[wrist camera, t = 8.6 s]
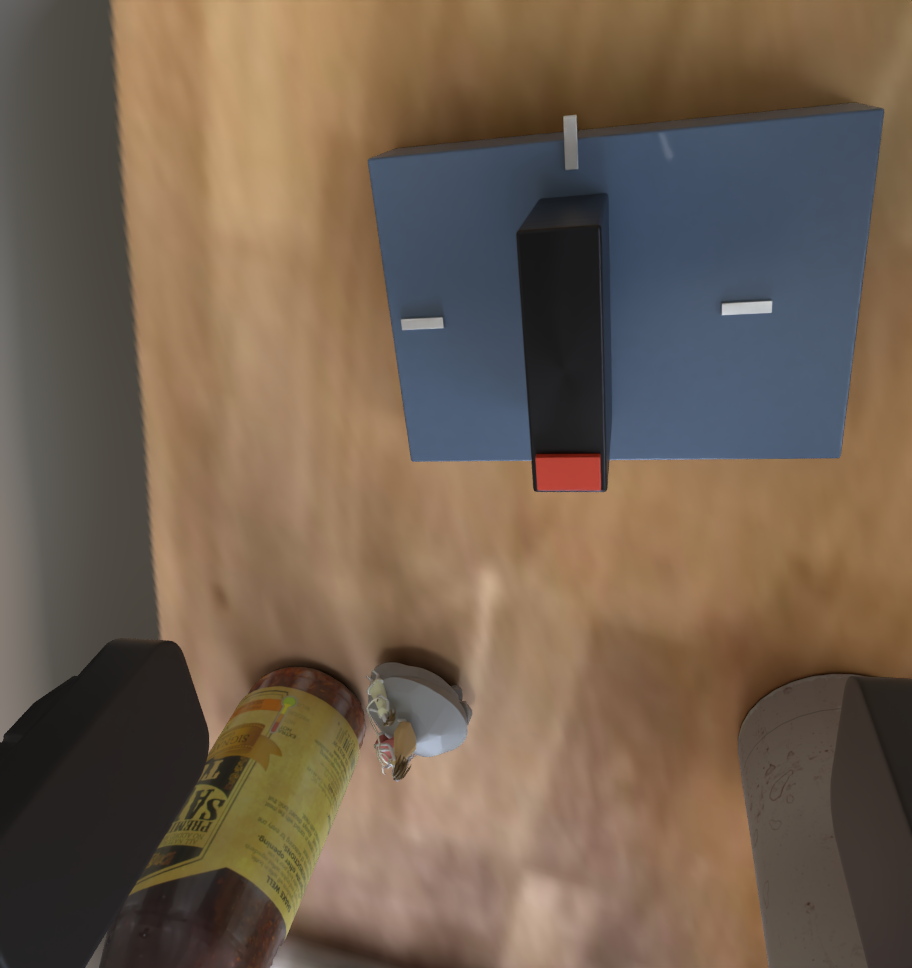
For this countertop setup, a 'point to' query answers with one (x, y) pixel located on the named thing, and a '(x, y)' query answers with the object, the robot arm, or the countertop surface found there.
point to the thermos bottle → (798, 825)
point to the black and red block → (567, 341)
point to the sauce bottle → (245, 831)
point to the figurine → (414, 715)
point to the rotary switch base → (641, 280)
